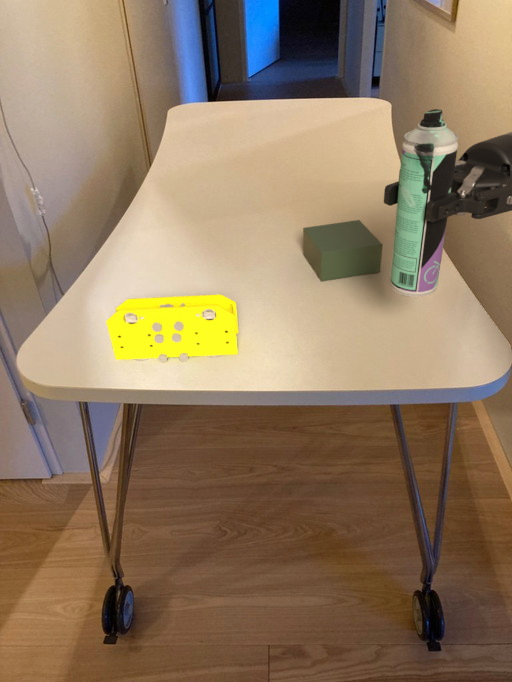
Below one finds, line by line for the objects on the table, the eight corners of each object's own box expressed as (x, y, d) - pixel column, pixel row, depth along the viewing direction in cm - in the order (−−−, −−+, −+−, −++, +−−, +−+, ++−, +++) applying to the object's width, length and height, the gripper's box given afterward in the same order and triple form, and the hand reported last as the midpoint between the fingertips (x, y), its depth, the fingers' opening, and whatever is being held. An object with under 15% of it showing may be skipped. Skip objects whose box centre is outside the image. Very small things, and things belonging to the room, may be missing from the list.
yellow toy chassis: (116, 366, 72) (102, 313, 67) (124, 341, 76) (112, 289, 72) (238, 361, 71) (233, 307, 67) (239, 336, 76) (234, 283, 71)
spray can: (442, 296, 64) (469, 116, 52) (394, 298, 64) (411, 119, 52) (431, 273, 68) (454, 102, 56) (386, 275, 69) (400, 105, 57)
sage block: (380, 272, 89) (382, 244, 86) (321, 281, 87) (321, 253, 84) (357, 246, 97) (359, 219, 94) (303, 254, 95) (303, 227, 92)
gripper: (463, 123, 69) (362, 154, 61) (573, 147, 59) (467, 187, 51) (454, 182, 73) (359, 217, 66) (555, 214, 63) (456, 259, 56)
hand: (407, 204), depth 59 cm, fingers closed on spray can, 5 cm apart
